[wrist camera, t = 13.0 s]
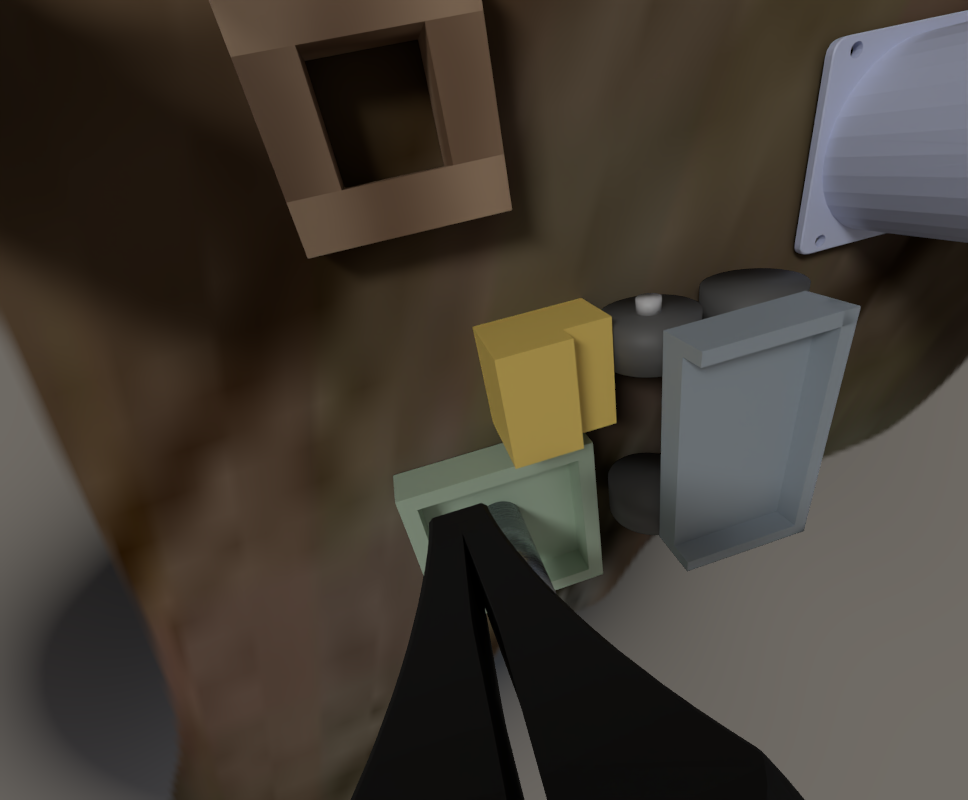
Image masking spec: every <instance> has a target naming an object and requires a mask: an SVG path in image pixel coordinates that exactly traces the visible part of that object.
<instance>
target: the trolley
mask: <svg viewBox="0 0 968 800" xmlns="http://www.w3.org/2000/svg"><path fill="white" fill-rule="evenodd" d="M810 283H811V281H810V279H809V278H808V277H807V276H805V275H803V274H800V273H797V272H794V271H789V270H782V269H770V268H755V269H741V270H733V271H728V272H723V273H719V274H716V275H713V276H710V277H708V278H706V279H705V280H703V281H702V282H701V283H700V290H699V303H698V302H697V301H695V300H693V299H690V298H687V297H683V296H677V295H664V294H657V293H645V294H641V295H638V296H635V297H630V298H626V299H622V300H619V301H616V302H614V303H611V304H609V305H607V306H606V307H604V308H603V309H602V311H604V312H605V313H607V314H609V315H610V316H612V334H613V356H614V372H615V373H618V374H622V375H626V376H632V377H648V378H650V377H662V426H661V455H659V454H653V453H638V454H632V455H628V456H626V457H623V458H621V459H619V460H618V461H616V462H615V463H614V464H613V465H612V466H611V468H610V470H609V473H608V486H609V503H610V510H611V513H612V515H613V516H614V518H615V519H616V520H617V521H618V522H619V523H620V524H621V525H623V526H624V527H626V528H628V529H630V530H632V531H635V532H638V533H642V534H648V535H659V536H660V537H661V538H662V540H663V541H664V543H665V544H666V545H667V546H668V548H669V549H670V550H671V551H672V553H673V554H674V555H675V556H676V558H677V559H678V560H679V562H680V563H681V564H682V565H683V567H684V568H685V569H686V570H687V571H690V570H692V569H695V568H698V567H701V566H704V565H707V564H709V563H713V562H716V561H718V560H721V559H724V558H727V557H730V556H733V555H736V554H739V553H741V552H744V551H747V550H750V549H753V548H756V547H759V546H762V545H764V544H768V543H770V542H773V541H776V540H779V539H782V538H785V537H788V536H791V535H793V534H796V533H799V532H802V531H804V528H805V524H806V520H807V516H808V512H809V508H810V504H811V500H812V496H813V492H814V488H815V484H816V480H817V477H818V472H819V468H820V465H821V461H822V457H823V453H824V449H825V445H826V441H827V437H828V433H829V429H830V425H831V421H832V417H833V414H834V410H835V406H836V402H837V398H838V394H839V390H840V386H841V382H842V378H843V374H844V370H845V366H846V362H847V358H848V354H849V350H850V347H851V343H852V339H853V335H854V331H855V327H856V323H857V319H858V315H859V311H860V307H861V306H858V305H855V304H851V303H848V302H844V301H840V300H837V299H833V298H830V297H826V296H822V295H819V294H815V293H812V292H809V289H810Z"/></svg>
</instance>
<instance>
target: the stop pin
mask: <svg viewBox="0 0 968 800" xmlns="http://www.w3.org/2000/svg"><path fill="white" fill-rule="evenodd" d="M487 507H488V509H489V511H490V513H491V514H492V516H493V518H494V519H495V521H496V523H497V524H498V526H499V527H500V529H501V530H502V531H503V533H504V534H505V535H506V537H507V538H508V540H509V541H510V542H511V544H512V545H513V546H514V547H515V549H516V550H517V551H518V552H519V553H520V555H521V556H522V557H523V558H524V559H525V560H526V562H527V563H528V564H529V565H530V566H531V568H532V569H533V570H534V571H535V572H536V573H537V574H538V575H539V576H540V578H541V579H542V580H543V581H544V582H545V583H546V584H547V585H548V586H549V587H550V588H551V589H552V590H553V591H554V592H555V589H554V587H553V585H552V583H551V580H550V578H549V576H548V574H547V571H546V569H545V567H544V564H543V562H542V560H541V558H540V555H539V553H538V551H537V549H536V546H535V544H534V542H533V539H532V537H531V535H530V533H529V530H528V528H527V526H526V524H525V521H524V519H523V517H522V514H521V512H520V510H519V508H518V507H517V506H516V505H515V504H513V503H511V502H507V501H500V502H495V503H493V504H490V505H489V506H487ZM555 593H556V592H555ZM566 604H567V603H566ZM567 605H568V604H567ZM568 606H569V605H568ZM569 607H570V606H569Z"/></svg>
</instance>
